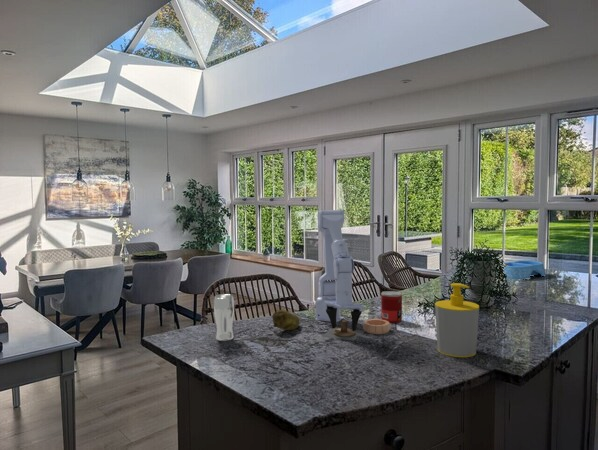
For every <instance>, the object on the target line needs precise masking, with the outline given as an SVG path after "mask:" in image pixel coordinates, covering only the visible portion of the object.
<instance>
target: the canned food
mask: <svg viewBox="0 0 598 450" xmlns="http://www.w3.org/2000/svg"><path fill="white" fill-rule="evenodd" d="M380 293H381V296H380V297H381V299H380V300H381V302H380V305H381V306H380V307H381V308H380V309H381V310H380V311H381V318H380V319H382V320H386V321H388V322H389V323H390V324H398V323H401V322H402V320H403V294H402V292H400V291H395V290H394V291H393V290H390V291H389V290H386V291H382V292H380Z"/></svg>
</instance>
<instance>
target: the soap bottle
mask: <svg viewBox="0 0 598 450" xmlns="http://www.w3.org/2000/svg"><path fill="white" fill-rule="evenodd" d="M450 287H452V293H451V294H450V296H449V297H450V299H444V300H438V301H436V302H435V304H434V307H435V309H434V310H435V312H434V313H435V324H436V325H435V328H436V343H437V344H436V346H437V351H438V352H439V353H441V354H443V355H446V356H448V357H454V358H470V357H474V356H476V355H477V345H478V343H477V342H478V329H479V328H478V327H479V316H480V314H479V313H480V305H479V304H477V303H475V302H471V301H466V300H464V295H463V294H462V291H461V289H462V288H464V289H470V286H468V285H466V284H463V283H458V282H457V283H456V282H452V283H450Z"/></svg>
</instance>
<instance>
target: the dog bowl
mask: <svg viewBox="0 0 598 450" xmlns="http://www.w3.org/2000/svg"><path fill="white" fill-rule="evenodd" d="M504 264H508V266H506V267H505V268H504V273H505V274H506V275H507V279H506V280H508V279H525V278H530V279H531V277H530V275H538V274H539V273H540V274H539V275H541V277H542V276H544V275H546V276H547V273H546V270H545V265H544V262H541V261H536V260H514V261H507V262H504ZM539 275H538V276H539Z"/></svg>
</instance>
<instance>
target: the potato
mask: <svg viewBox="0 0 598 450" xmlns="http://www.w3.org/2000/svg"><path fill="white" fill-rule="evenodd" d="M271 318H272V323H273V326H274V327H277V328H278V329H280V330H286V331H294V330H296V329H297V328H298V327H299V326H300V318H299V316H298V315H296V314H293V313H292V312H289V311H288V310H285V309H280V310H276V311H274V312H273V314H272V317H271Z"/></svg>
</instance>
